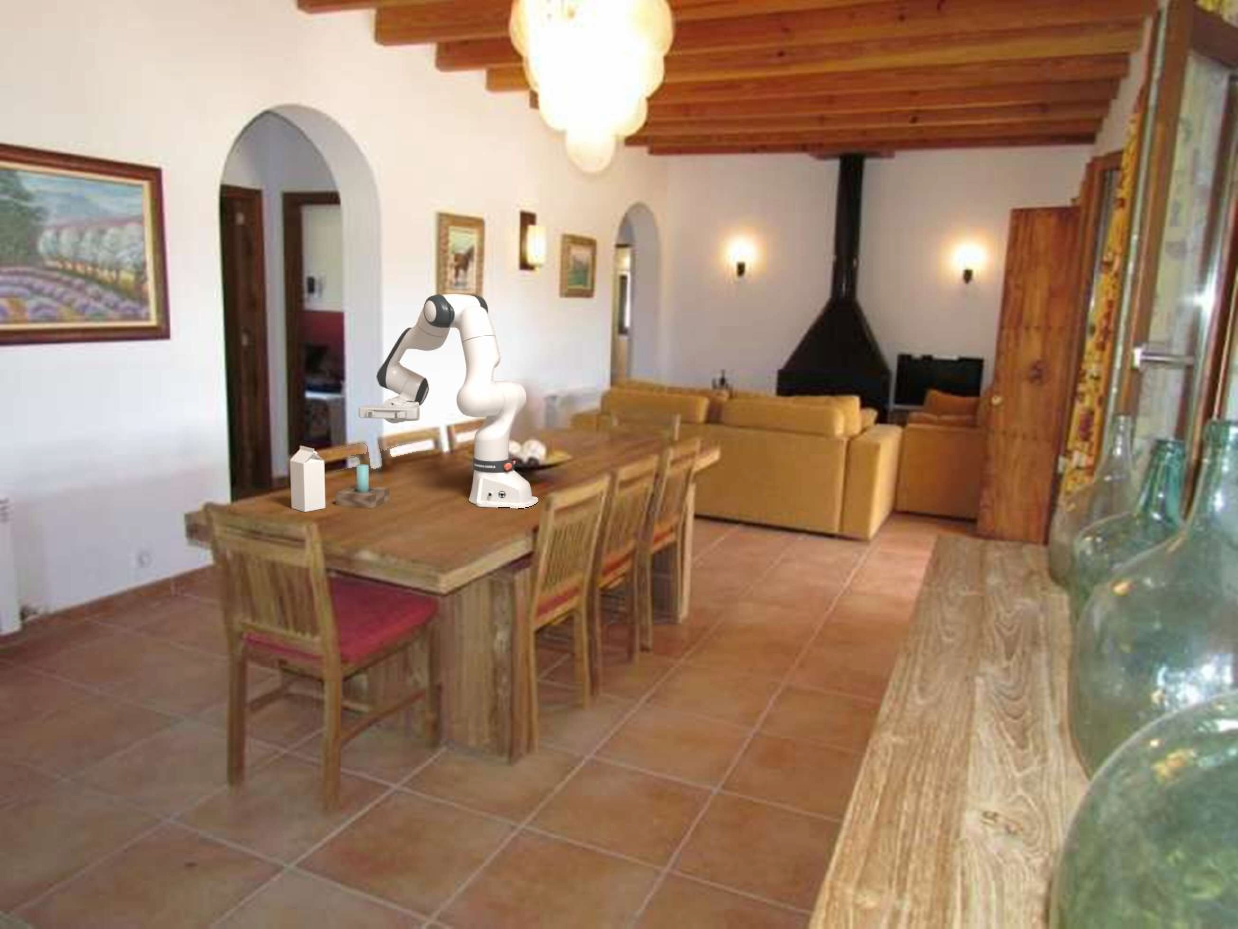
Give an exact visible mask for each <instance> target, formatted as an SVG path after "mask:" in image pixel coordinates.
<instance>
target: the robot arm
mask: <svg viewBox="0 0 1238 929" xmlns="http://www.w3.org/2000/svg"><path fill="white" fill-rule="evenodd" d="M452 328H454V329H457V330H458V331H459V336H460V341H461V347H462V350H463V356H464V360H465V367H466V368H465V372H466V373H465V378H464V382H463V384H462V386H461V387H460V388H459V389H458V392H457V393H456V394H457V395H456V405H457V408H458V410H459V411H460V413H461V414H462V415H464V416H465V417H472V418H485V420H484V422H483V424H482V425H481V427H480V428H479V429H478V430H477V431H476V432H475V433H474V434H475V435H474V439H473V440H474V441H473V442H474V443H473V447H474V449H473V451H474V455H473V456H474V457H473V458H472V474H473V476H472V477H473V478H472V484H471V491H470V495H469V498H468V501H469V502H470V503H472V504H474V505H475V506H477V507H483V508H498V507H510V508H509V509H518V508H524V509H526V508H525V507H529V506H532V505H534V504H536V503H537V502H538V503H539V498H538V497H537V496H533V494H532V488H531V485H530V482H529V481H528V480H526V479H525V478H524V477H523V476H521V475H520V474H519V473H518V472H517V471H515V464H516V460H512V459H511V458H510V457H509V455H510V454H509V450H510V449H509V448H510V435H511V431H512V427H513V425H514V423H515V421H516V420H515V419H516V418H517V416H518V415H519V413H520V412H521V411H522V410H523V409H524V407H525V406H526V404H527V393H526V390H525V388H524V386H523V385H521V383H519V382H516V381H510V380H499V381H494V372H495V368H497V367H498V366H499V364H500V363H501V355H500V350H499V345H498V341H497V336H496V333H495V332H496V331H495V329H494V326H493V323H492V320H491V317H490V316H489V306H488V303H487V301H486V300H485V298H483V297H482V296H481V295H477V294H464V293H463V294H462V293H444V294H439V293H438V294H433V295H431V296H429V297H427V298H426V300H425V302H424V304H423V307H422V310H421V311H420V313H419V316H418V319H417V321H416V324H415V325H413V327H407V328H405V330H404V331H403V332H402V333H401V334H400V335H399V337H398V338H397V340H396V341H395V344H394V345H393V347H392V349H391V350H390V352H389V354H388V355H387V357H386V359H385V361H384V362H383V363H382V364H381V366H380V367H379V368H378V371H377V373H376V380H377V383H378V385H379V387H381V388H384V389H387V390H389V391H391V392H394V393H395V394H397V396H393V397H391V398H388V399H387V400H385V401H384V402H383V404H382V405H372V404H371V405H363V406H359V407H358V417H359V418H360V419H384V420H385V421H386V422H388V423H390V424H399V423H404V422H414V421H419V420H420V412H421V406H422V405H423V404H424V402H425V400H426V399H427V396H428V395H429V391H430V384H429V381H428V380H427V378H426V377H425V376H423V375H422V374H419V373H417V372H414V371H413V370H411V369H409V368H407V367H405V366H403V364H401V363H400V361H401V359H402V358H403V356H404V354H405V353H406V351H407V350H419V351H425V352H429V351H435V350H437V349H440V348H441V347H442V346H443V345H444V344H445V342H446V340H447V338H448V335H449V333H450V329H452ZM538 503H537V504H538ZM537 504H536V505H537ZM534 506H535V505H534ZM532 507H533V506H532ZM529 508H530V507H529Z"/></svg>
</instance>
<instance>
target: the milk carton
mask: <svg viewBox="0 0 1238 929" xmlns="http://www.w3.org/2000/svg"><path fill="white" fill-rule="evenodd" d="M289 465H290V466H289V467H290V468H289V469H290V471H289V472H290V497H291V500H290V501H291V509H294V510H297V511H300V512H304V513H307V512H312V511H316V510H317V511H318V510H322V509H326V481H325V480H326V479H325V477H326V476H325V460H324V459H323V458H322V457H321V456H320V455H318V452H317V451H315V448H312V447H307V446H304V445H299V450H298V451H297V452H296V453H295V454H294V455H293V456H291V459H290V460H289Z"/></svg>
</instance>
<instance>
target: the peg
mask: <svg viewBox="0 0 1238 929" xmlns="http://www.w3.org/2000/svg"><path fill="white" fill-rule="evenodd" d="M369 467H370V466H369V464H365V463H363V464H362V463H360V464H357V465H356V485H357V492H363V493H367V492H369V486H370V484H369V482H370V479H369V478H370V477H369V476H370V475H369V473H370V471H369V470H370V469H369Z"/></svg>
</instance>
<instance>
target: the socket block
mask: <svg viewBox="0 0 1238 929" xmlns="http://www.w3.org/2000/svg"><path fill="white" fill-rule="evenodd" d="M389 501H390V487H384V486H383V487H382V486H372V485H369V492H367V493H363V492H357V484H354V485H351V486H348V487H346V488H344V489H340V490H339V491H335V506H342V507H350V508H351V507H353V508H360V507H361V509H362V508H363V509H370V508H371V509H373V508H376V507H378V506H379V504H380V505H382V504H383V503H387V502H389ZM381 503H382V504H381ZM377 505H378V506H377Z"/></svg>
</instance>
